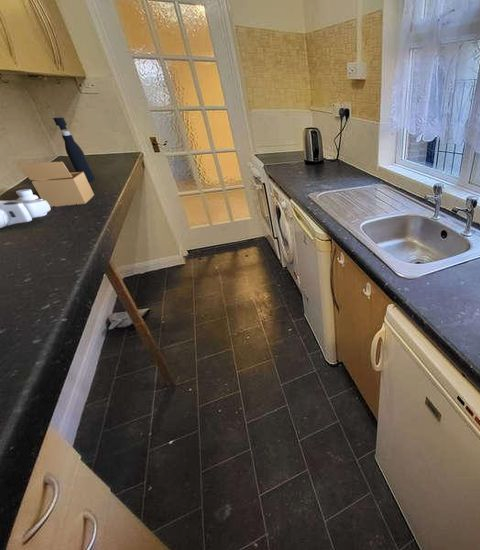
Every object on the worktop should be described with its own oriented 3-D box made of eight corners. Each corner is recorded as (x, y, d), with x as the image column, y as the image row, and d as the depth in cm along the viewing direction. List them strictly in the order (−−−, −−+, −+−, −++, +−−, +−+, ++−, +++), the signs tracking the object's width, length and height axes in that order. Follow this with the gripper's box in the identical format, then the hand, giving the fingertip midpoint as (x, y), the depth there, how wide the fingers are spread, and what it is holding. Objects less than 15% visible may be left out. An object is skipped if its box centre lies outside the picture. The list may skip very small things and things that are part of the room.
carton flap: (72, 176, 121) (72, 177, 121) (30, 179, 116) (30, 180, 116) (62, 161, 116) (62, 161, 116) (18, 163, 111) (17, 164, 111)
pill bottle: (45, 216, 113) (30, 191, 108) (26, 219, 111) (10, 193, 106) (49, 212, 117) (35, 187, 112) (31, 214, 115) (15, 189, 110)
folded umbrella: (98, 180, 160) (69, 117, 144) (83, 182, 155) (51, 118, 139) (93, 178, 163) (64, 117, 147) (79, 180, 158) (47, 117, 142)
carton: (85, 203, 127) (73, 178, 121) (46, 207, 122) (31, 181, 116) (94, 195, 138) (83, 171, 132) (58, 198, 133) (45, 174, 127)
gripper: (-31, 222, 101) (7, 209, 113) (34, 221, 103) (65, 208, 114) (-44, 204, 98) (-3, 192, 109) (23, 204, 99) (56, 192, 111)
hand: (32, 200), depth 112 cm, fingers closed on pill bottle, 5 cm apart
